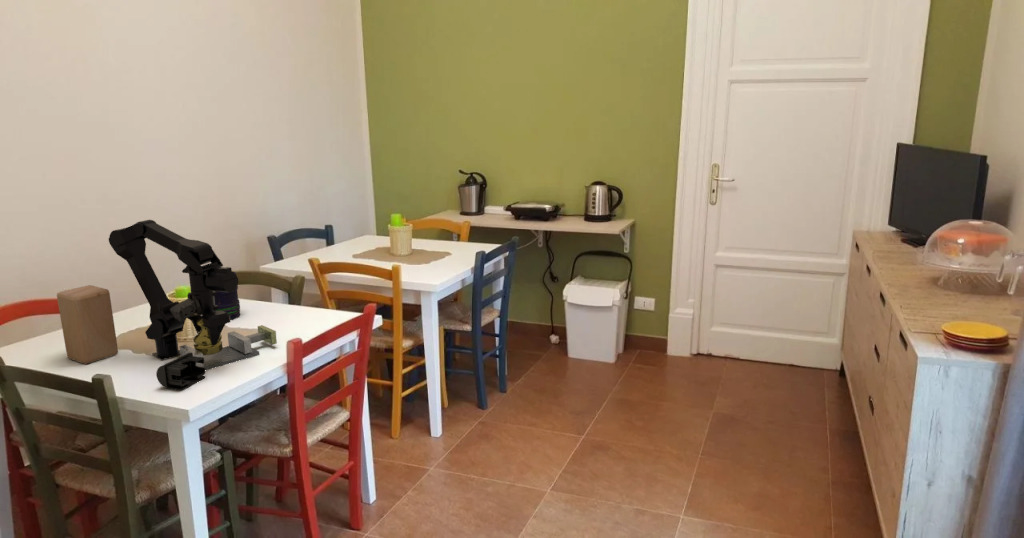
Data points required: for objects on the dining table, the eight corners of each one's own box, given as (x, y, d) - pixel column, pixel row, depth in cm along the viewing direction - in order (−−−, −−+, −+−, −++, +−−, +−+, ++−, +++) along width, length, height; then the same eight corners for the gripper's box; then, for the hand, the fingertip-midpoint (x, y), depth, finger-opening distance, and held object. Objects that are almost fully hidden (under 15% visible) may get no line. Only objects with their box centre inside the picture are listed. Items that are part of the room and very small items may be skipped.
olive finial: (207, 357, 190) (204, 323, 188) (188, 352, 193) (185, 319, 191) (228, 348, 197) (225, 315, 194) (209, 344, 200) (206, 311, 197)
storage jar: (207, 322, 229) (202, 279, 225) (212, 313, 238) (207, 271, 235) (238, 320, 231) (234, 277, 228) (242, 311, 241) (238, 270, 237)
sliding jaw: (228, 345, 204) (227, 332, 203) (261, 336, 212) (260, 324, 211) (245, 353, 198) (243, 340, 197) (278, 344, 206) (277, 331, 205)
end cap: (185, 374, 187) (183, 351, 185) (207, 377, 185) (204, 353, 183) (157, 389, 178) (154, 364, 176) (180, 392, 176) (177, 367, 174)
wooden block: (120, 354, 201) (110, 288, 196) (85, 365, 193) (74, 297, 188) (100, 348, 206) (90, 283, 201) (65, 358, 198) (54, 292, 193)
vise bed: (180, 362, 195) (178, 345, 194) (241, 345, 208) (239, 330, 207) (198, 372, 188) (196, 355, 187) (259, 354, 201) (258, 338, 200)
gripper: (157, 288, 191) (164, 341, 195) (187, 301, 179) (193, 358, 182) (197, 280, 199) (203, 331, 203) (228, 293, 187) (234, 347, 191)
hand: (207, 341), depth 194 cm, fingers closed on olive finial, 7 cm apart
